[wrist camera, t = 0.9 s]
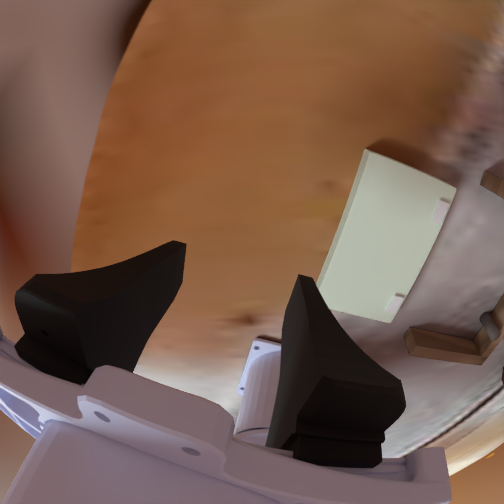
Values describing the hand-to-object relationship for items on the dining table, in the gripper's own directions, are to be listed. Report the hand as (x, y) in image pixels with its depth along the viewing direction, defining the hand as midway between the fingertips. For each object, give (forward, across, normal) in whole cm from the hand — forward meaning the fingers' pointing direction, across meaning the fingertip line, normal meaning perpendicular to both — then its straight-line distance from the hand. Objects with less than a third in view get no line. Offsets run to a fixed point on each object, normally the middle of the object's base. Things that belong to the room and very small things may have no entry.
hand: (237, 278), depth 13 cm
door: (+10, -9, 0) cm, 13 cm away
